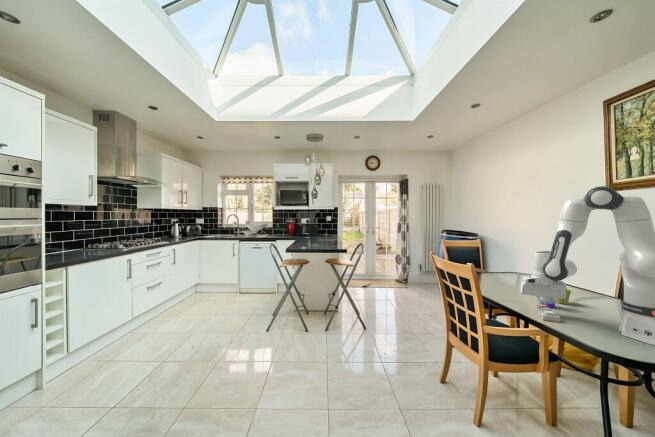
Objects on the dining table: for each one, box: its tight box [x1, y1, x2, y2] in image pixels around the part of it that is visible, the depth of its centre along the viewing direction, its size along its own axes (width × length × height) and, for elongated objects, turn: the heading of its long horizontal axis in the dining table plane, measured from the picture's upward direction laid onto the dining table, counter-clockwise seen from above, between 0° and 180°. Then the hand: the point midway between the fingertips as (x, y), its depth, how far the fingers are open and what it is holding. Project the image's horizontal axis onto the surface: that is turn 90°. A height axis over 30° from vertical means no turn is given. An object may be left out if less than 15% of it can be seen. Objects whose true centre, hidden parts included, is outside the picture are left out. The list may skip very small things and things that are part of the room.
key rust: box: [536, 303, 548, 309], centre depth 147 cm, size 4×4×2 cm
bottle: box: [539, 296, 556, 308], centre depth 156 cm, size 7×6×17 cm
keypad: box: [532, 304, 561, 323], centre depth 142 cm, size 17×7×3 cm, turn 156°
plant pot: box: [555, 287, 573, 305], centre depth 162 cm, size 9×9×9 cm
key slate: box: [540, 307, 553, 312], centre depth 142 cm, size 4×4×2 cm
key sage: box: [543, 310, 557, 316], centre depth 138 cm, size 4×4×2 cm
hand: (542, 304), depth 147 cm, fingers closed
